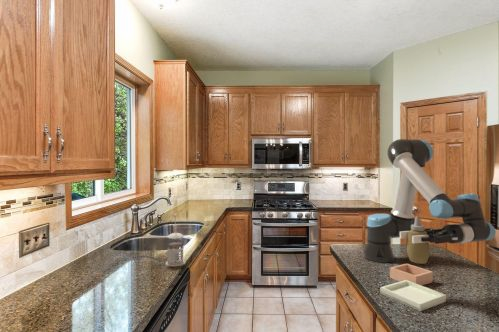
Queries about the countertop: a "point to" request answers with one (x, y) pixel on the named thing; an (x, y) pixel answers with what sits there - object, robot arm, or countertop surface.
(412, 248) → the squeeze bottle
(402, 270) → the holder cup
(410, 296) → the tray
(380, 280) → the countertop surface
